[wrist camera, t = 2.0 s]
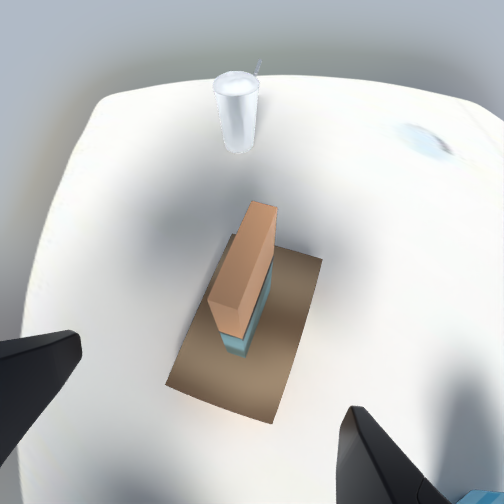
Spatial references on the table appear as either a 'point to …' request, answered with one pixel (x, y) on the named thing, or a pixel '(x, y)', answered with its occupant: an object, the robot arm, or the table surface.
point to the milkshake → (237, 108)
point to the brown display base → (249, 342)
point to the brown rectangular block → (244, 270)
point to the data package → (482, 497)
